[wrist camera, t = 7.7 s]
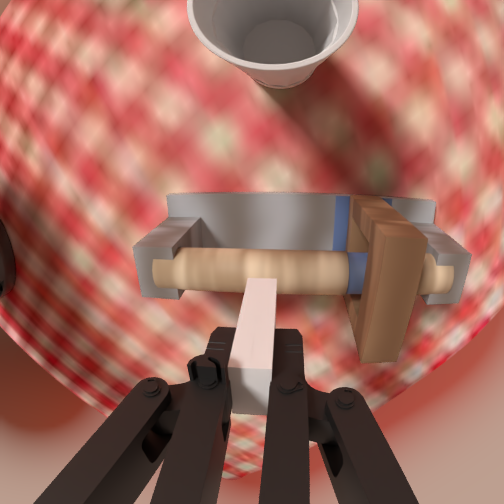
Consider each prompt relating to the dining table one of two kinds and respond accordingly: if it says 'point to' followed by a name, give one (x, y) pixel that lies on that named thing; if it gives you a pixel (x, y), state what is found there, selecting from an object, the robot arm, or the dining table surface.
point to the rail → (281, 246)
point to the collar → (383, 276)
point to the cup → (274, 35)
